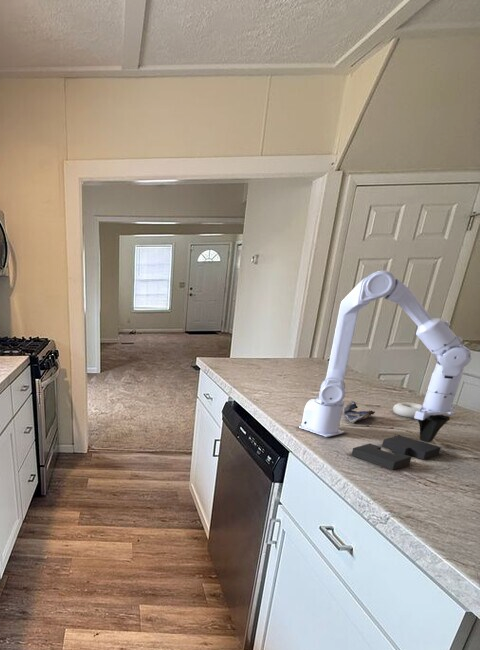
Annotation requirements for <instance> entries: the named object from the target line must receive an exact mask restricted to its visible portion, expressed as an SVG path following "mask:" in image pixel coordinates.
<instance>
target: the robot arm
mask: <svg viewBox="0 0 480 650" xmlns="http://www.w3.org/2000/svg"><path fill="white" fill-rule="evenodd" d="M382 298H384V300H387V301H390V302H394V303H396V304H397V305H398V306H399V307H400V308H401V309H402V310H403V311H404V313H405V314H406V315H407V316H408V317H409V318H410V319H411V320H412V321H413V323H414V324H415V325H416V326H417V328H416V331H415V336H416V337H417V338H418V339H419V340H420V341H421V342H422V344H423V345H424V346H425V347H426V348H427V349H428V351H429V352H430V354H432V355H434V359H435V361H437V362H436V363H435V366H434V369H433V372H432V373H431V377H430V379H429V380H430V381H429V383H428V386H427V389H426V393H425V396H424V399H423V403H422V405H423V406H421V408H420V409H419V410H418V411H416V413H415V417H414V418H413V419H415V420H417V422H418V425H419V441H421V442H425V443H428V444H430V443H432V441H433V440H434V439H435V437H436V436H437V434H438V433H439V431H440V430H441V429H442V427H444V425H446V423H447V422H449V421H450V418H451V417H450V416H454V415H455V414H456V410H455V407H456V405H455V404H454V400H455V397H456V396H457V395H456V394H457V391H458V388H459V386H460V383H461V380H462V378H463V373H464V370H465V369H464V368H465V367H466V366H468V365H469V363H470V362H471V361H472V359H473V358H472V356H471V351H470V349H469V348H468V346H467V347H466V346H465V345H464V344H463V343H462V342H463V338H462V337H461V336H459V337H458V336H457V335H456V334H455V333H454V331H453V330H452V329H451V328H450V327H449V326H451V322H449V320H443V318H441V317H432V316H431V315H430V314H429V312H428V311H427V310H426V308H425V307H424V306H423V305H422V303H421V302H420V301H419V300H418V298H417V297H416V295H415V294H414V293H413V292H412V290H411V289H410V288H409V287H408V286H406V284H404V283H403V282H402V281H401V280H400V279H399V278H396V276H395V275H394V274H393V273H392V272H390V271H388V270H378V271H374V272H372V273H370V274H369V275H367V276H365V277H363V278H362V279H360V281H359V282H358V283H357V284H356V285H355V286H354V287H353V289H352V290H351V291H350V292H349V293H348V294H347V295H346V296H345V297H344V298H343V299H342V300H341V301H340V304H339V309H338V314H337V320H336V325H335V330H334V335H333V341H332V345H331V350H330V354H329V355H330V356H329V360H328V366H327V371H326V375H325V379H324V380H323V381H322V382H321V384H320V388H319V392H318V397H316V398H311V399H309V400H308V401H307V402H306V404H305V406H304V410H303V414H302V420H301V423H300V424H301V425H299V426H298V427H299V429H302V430H305V431H308V432H311V433H313V434H317V435H319V436H322V437H325V438H330V437H333V436H337V435H341V434H344V433H345V430H342V429H340V428H339V427H340V424H341V421H342V416H343V415H342V414H343V410H344V408H345V407H344V406H345V401H344V399H345V397H346V383H345V377H346V371H347V367H348V361H349V357H350V352H351V348H352V344H353V338H354V334H355V328H356V325H357V320H358V316H359V311H360V310H362V309H363V308H365V307H366V306H368V305H369V304H370V303H371V302H374V301H377V300H379V299H382ZM448 415H449V416H448Z"/></svg>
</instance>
